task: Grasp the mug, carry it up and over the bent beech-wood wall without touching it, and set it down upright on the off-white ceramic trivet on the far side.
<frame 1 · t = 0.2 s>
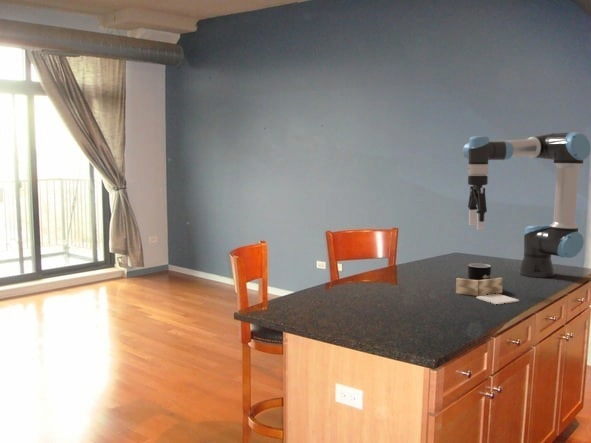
hand: (476, 227, 233), 26 cm above the kitchen island, fingers open, 13 cm apart
wall: (489, 293, 231), on the kitchen island
trivet: (497, 299, 221), on the kitchen island
mug: (480, 289, 240), on the kitchen island
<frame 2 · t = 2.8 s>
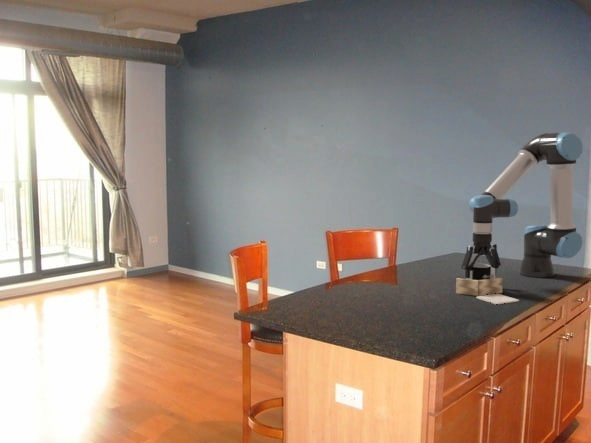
hand: (480, 284, 239), 2 cm above the kitchen island, fingers closed on mug, 11 cm apart
mug: (480, 289, 240), on the kitchen island, touching gripper
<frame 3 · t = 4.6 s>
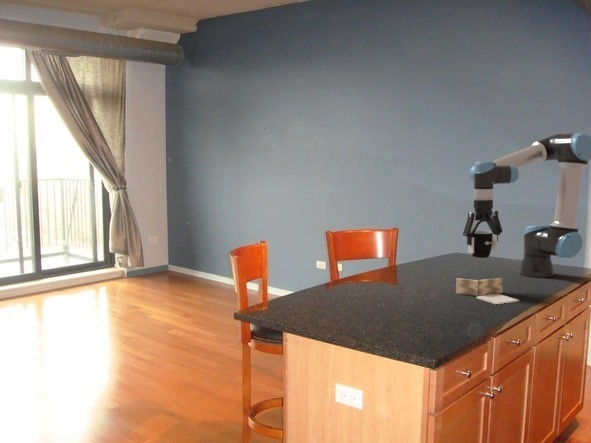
hand: (482, 251, 238), 16 cm above the kitchen island, fingers closed on mug, 11 cm apart
mug: (482, 256, 238), point 14 cm above the kitchen island, touching gripper
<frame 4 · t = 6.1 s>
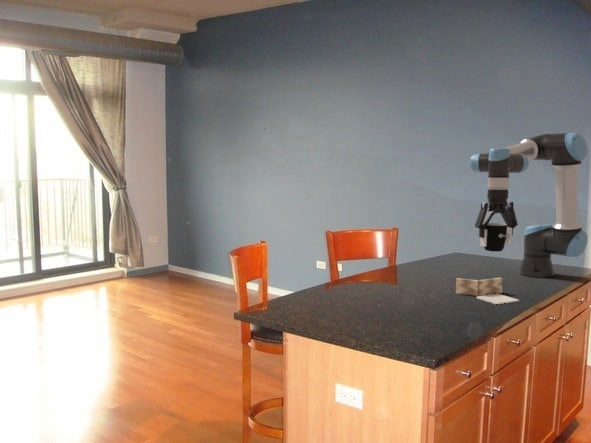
hand: (495, 245, 222), 21 cm above the kitchen island, fingers closed on mug, 11 cm apart
mug: (495, 250, 222), point 19 cm above the kitchen island, touching gripper
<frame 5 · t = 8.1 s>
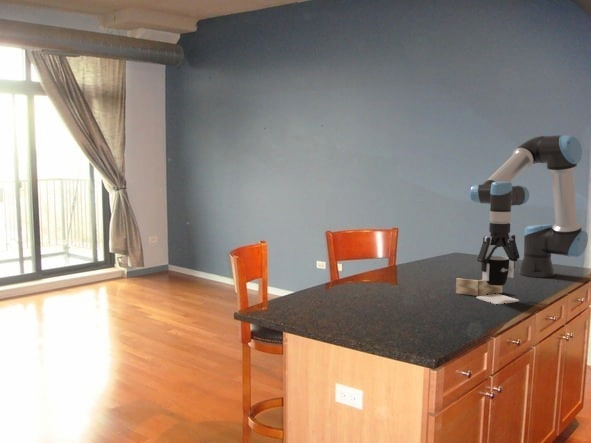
hand: (497, 278, 220), 8 cm above the kitchen island, fingers closed on mug, 11 cm apart
mug: (497, 283, 221), point 6 cm above the kitchen island, touching gripper
when the fingers open (4 cm above the kitchen island, at t = 9.5 s): mug drops 1 cm, resting on trivet.
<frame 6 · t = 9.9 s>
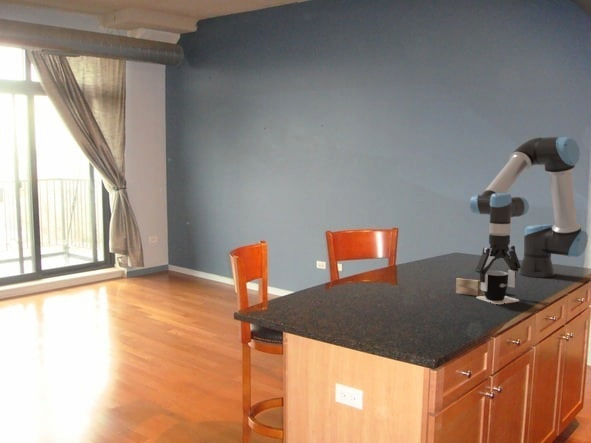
hand: (497, 288, 221), 4 cm above the kitchen island, fingers open, 13 cm apart
mug: (496, 298, 221), resting on trivet
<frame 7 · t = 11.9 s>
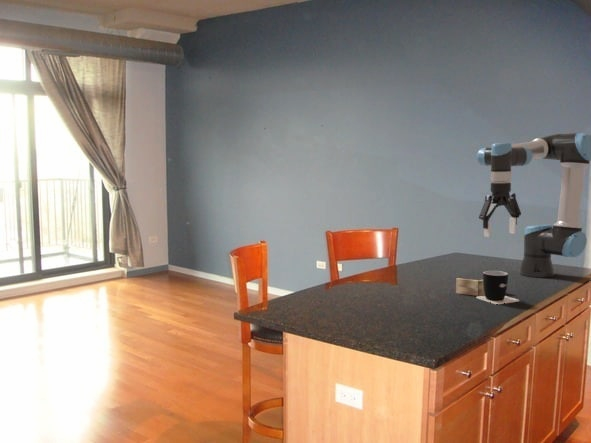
hand: (500, 235, 230), 23 cm above the kitchen island, fingers open, 13 cm apart
nothing on the kitchen island moved.
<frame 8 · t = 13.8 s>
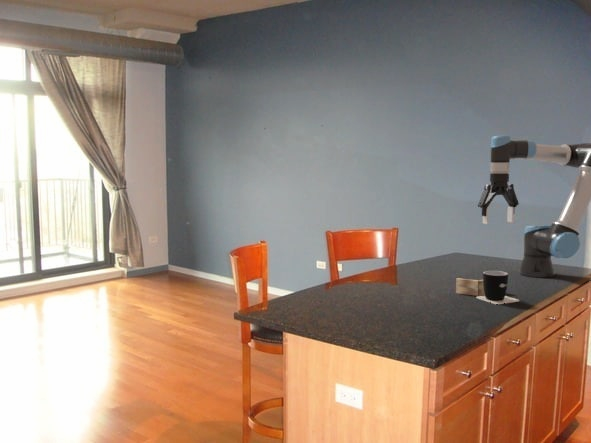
hand: (497, 223, 244), 27 cm above the kitchen island, fingers open, 13 cm apart
nothing on the kitchen island moved.
at the end: mug 0.3 cm from the trivet (horizontally); mug tilted 0°; mug touching trivet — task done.
